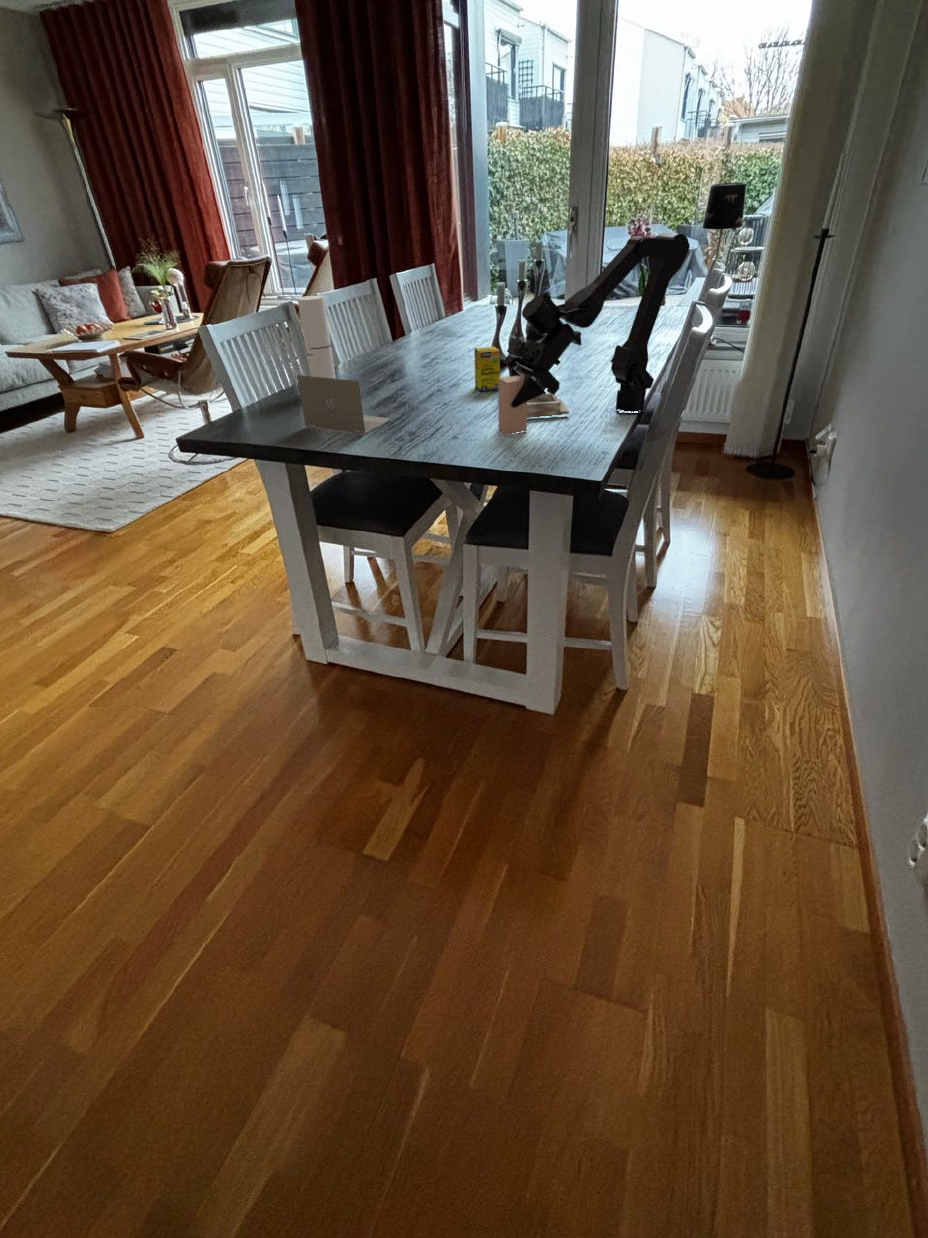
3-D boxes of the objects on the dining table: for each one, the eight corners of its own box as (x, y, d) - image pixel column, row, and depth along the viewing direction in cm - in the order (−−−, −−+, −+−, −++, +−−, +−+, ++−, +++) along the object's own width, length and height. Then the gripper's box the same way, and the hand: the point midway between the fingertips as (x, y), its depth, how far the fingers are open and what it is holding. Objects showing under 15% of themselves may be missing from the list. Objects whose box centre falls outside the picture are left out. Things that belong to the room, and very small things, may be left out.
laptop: (392, 421, 164) (386, 368, 156) (365, 436, 154) (358, 381, 147) (334, 414, 170) (326, 363, 163) (305, 428, 161) (296, 375, 154)
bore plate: (560, 404, 169) (560, 390, 167) (568, 417, 160) (569, 402, 158) (511, 407, 169) (511, 393, 167) (517, 420, 160) (517, 405, 158)
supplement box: (480, 392, 181) (479, 352, 175) (474, 387, 186) (473, 347, 180) (500, 390, 183) (500, 350, 176) (494, 385, 187) (493, 345, 181)
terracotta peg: (517, 425, 156) (518, 375, 149) (526, 431, 152) (527, 379, 145) (498, 429, 155) (498, 377, 148) (507, 435, 151) (507, 382, 144)
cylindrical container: (332, 394, 185) (317, 299, 171) (309, 394, 187) (293, 299, 172) (340, 387, 191) (327, 295, 177) (318, 387, 192) (303, 295, 178)
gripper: (511, 317, 148) (469, 372, 151) (549, 330, 134) (502, 391, 137) (540, 349, 155) (499, 401, 158) (579, 365, 141) (533, 422, 144)
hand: (507, 403), depth 149 cm, fingers closed on terracotta peg, 5 cm apart
